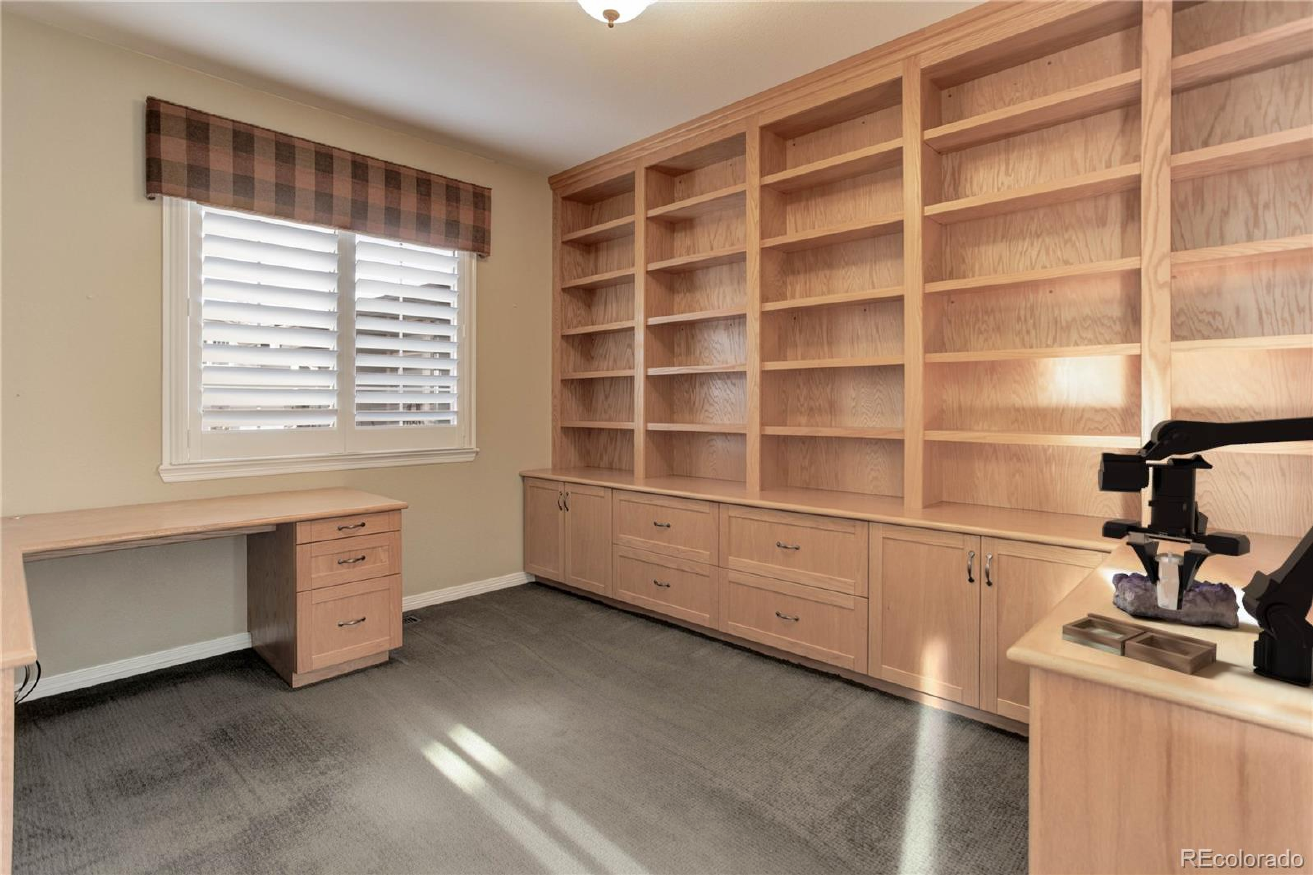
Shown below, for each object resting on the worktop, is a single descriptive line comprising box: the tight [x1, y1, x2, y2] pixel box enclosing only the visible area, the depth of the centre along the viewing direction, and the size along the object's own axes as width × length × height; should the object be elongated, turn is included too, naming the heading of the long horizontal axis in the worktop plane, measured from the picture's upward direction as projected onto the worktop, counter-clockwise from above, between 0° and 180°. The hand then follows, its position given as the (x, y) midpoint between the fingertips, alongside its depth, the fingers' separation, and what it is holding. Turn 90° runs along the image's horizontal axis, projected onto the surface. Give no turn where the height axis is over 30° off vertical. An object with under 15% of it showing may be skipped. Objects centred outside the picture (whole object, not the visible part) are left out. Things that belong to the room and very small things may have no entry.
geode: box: [1111, 571, 1241, 630], centre depth 130 cm, size 20×12×10 cm, turn 60°
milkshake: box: [1155, 551, 1185, 610], centre depth 108 cm, size 4×5×10 cm
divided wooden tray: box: [1061, 612, 1218, 675], centre depth 113 cm, size 19×11×3 cm, turn 32°
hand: (1170, 587), depth 108 cm, fingers closed on milkshake, 4 cm apart
